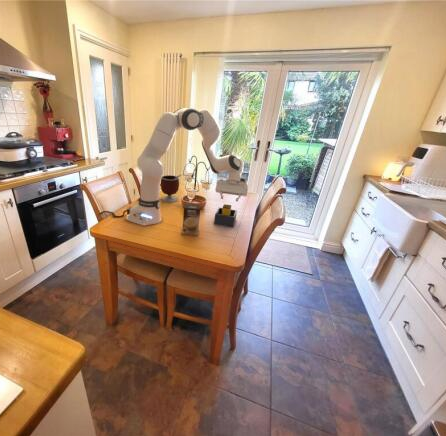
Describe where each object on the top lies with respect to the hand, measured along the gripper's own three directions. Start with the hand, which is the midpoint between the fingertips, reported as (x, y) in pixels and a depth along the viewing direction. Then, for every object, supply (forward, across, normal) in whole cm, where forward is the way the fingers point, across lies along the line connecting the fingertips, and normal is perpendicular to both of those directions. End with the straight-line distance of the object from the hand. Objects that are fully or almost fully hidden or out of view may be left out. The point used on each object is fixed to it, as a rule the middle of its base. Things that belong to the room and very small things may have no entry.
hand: (229, 199), depth 147 cm
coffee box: (+29, -16, -11) cm, 35 cm away
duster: (+13, 0, +4) cm, 13 cm away
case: (+14, 0, +4) cm, 14 cm away
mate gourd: (-2, -46, +20) cm, 50 cm away
